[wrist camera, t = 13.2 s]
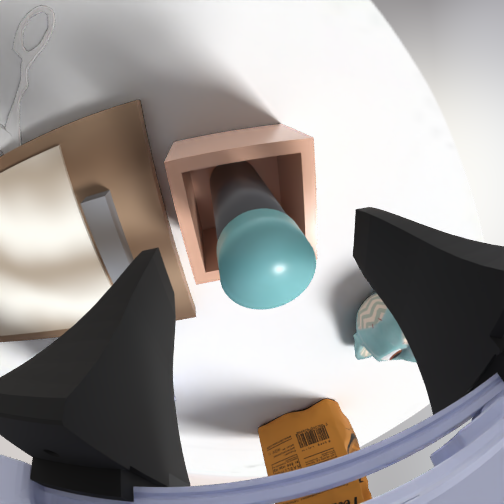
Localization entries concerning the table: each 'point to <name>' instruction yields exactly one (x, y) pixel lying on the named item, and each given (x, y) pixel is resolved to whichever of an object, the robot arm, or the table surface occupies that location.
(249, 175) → the marker
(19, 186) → the clipboard
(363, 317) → the stuffed animal
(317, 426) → the coffee package
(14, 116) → the scissors
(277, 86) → the table surface
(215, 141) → the pen cup
